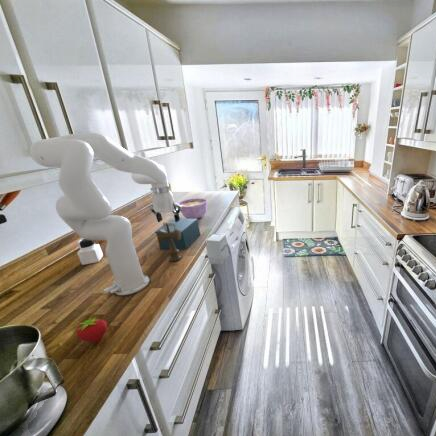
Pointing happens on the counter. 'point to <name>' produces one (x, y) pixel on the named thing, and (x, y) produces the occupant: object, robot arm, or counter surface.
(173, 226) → the dark teal box lid
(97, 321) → the strawberry
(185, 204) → the bowl of food
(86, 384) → the counter surface
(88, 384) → the counter surface
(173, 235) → the kendama
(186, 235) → the teal rectangular box
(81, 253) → the medicine bottle
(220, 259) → the white packaging box
